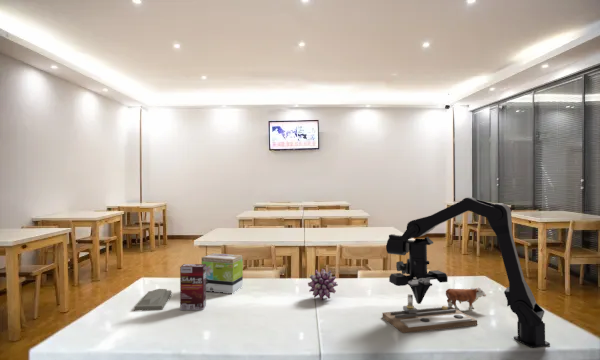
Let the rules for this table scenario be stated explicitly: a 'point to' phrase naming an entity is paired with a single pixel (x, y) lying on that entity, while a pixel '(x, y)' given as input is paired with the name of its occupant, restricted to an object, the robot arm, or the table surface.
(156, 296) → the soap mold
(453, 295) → the bull figurine
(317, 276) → the purple spiky ball
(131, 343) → the table surface
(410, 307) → the sliding handle
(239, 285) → the tea box
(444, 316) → the brown flat wooden board
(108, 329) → the table surface
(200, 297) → the supplement box
